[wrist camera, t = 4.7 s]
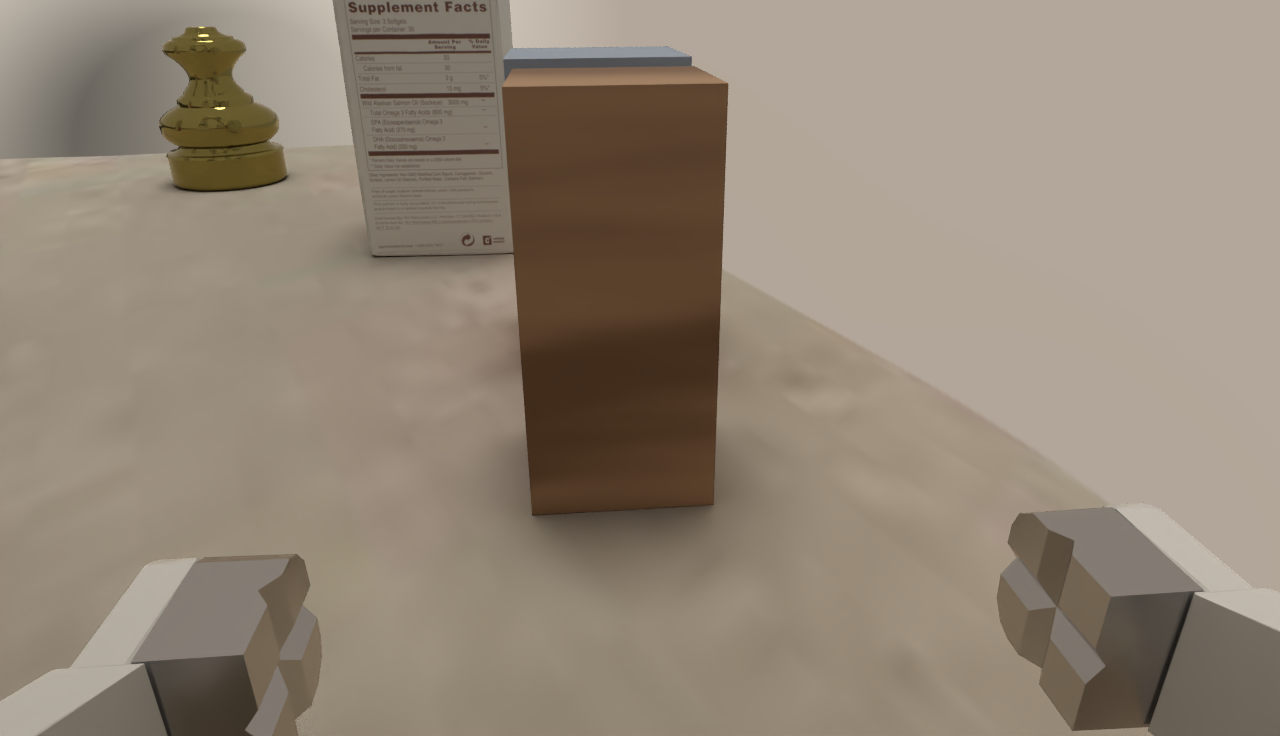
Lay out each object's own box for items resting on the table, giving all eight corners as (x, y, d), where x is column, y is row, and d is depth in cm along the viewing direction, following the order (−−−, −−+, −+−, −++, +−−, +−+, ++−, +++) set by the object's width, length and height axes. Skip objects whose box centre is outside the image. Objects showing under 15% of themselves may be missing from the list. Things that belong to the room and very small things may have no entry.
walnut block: (713, 504, 21) (728, 83, 17) (532, 515, 20) (501, 87, 16) (687, 420, 25) (694, 66, 21) (535, 428, 24) (512, 68, 20)
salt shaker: (248, 167, 63) (220, 24, 59) (311, 177, 59) (285, 25, 55) (151, 184, 57) (112, 28, 53) (213, 197, 53) (176, 29, 49)
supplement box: (397, 221, 47) (365, -24, 42) (527, 218, 48) (512, -25, 42) (365, 258, 40) (323, -28, 35) (517, 255, 41) (498, -29, 36)
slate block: (688, 223, 26) (691, 56, 24) (514, 229, 26) (503, 59, 24) (666, 187, 31) (667, 46, 29) (520, 191, 31) (511, 48, 29)
